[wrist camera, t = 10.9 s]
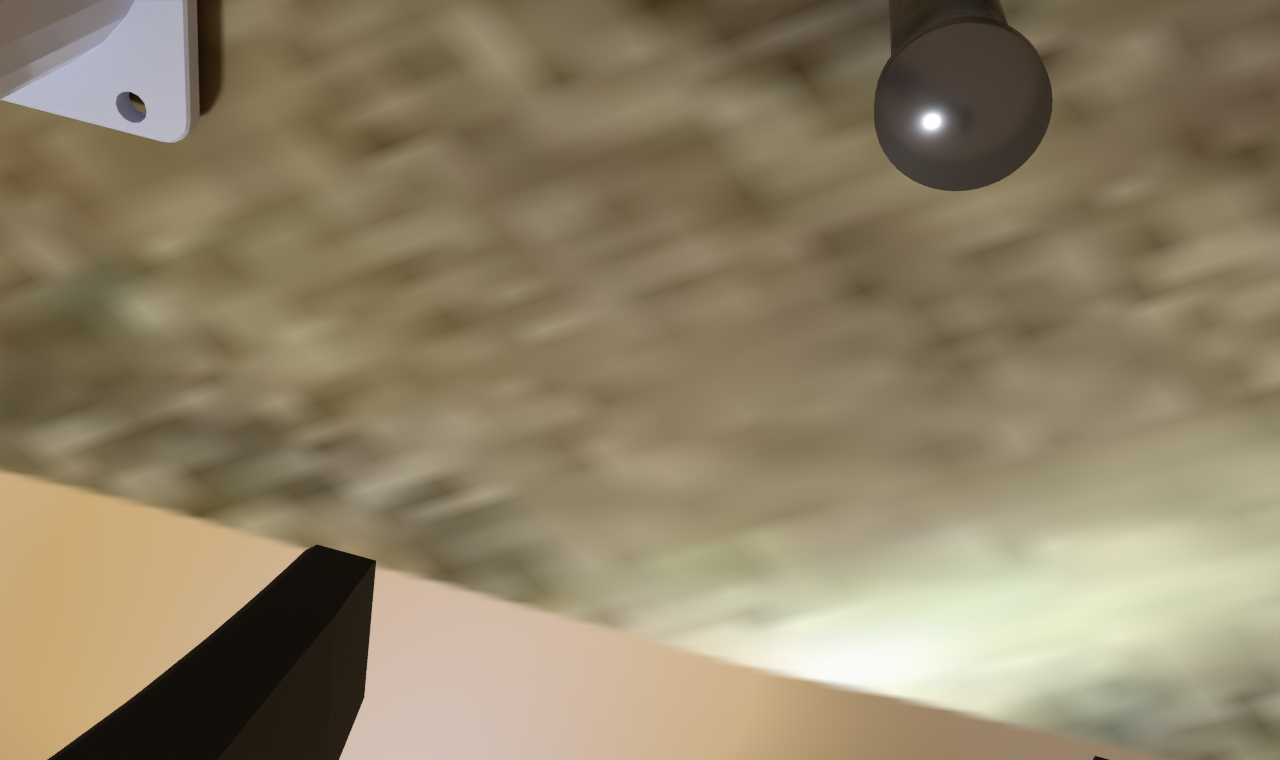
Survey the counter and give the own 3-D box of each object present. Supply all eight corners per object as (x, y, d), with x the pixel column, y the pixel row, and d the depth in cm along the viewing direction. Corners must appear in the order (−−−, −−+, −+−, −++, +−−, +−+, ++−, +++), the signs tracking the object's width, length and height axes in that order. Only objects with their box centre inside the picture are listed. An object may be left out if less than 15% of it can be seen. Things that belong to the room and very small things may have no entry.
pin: (858, 36, 17) (852, 168, 13) (897, -92, 16) (905, 4, 12) (978, 66, 17) (1013, 208, 12) (1025, -60, 16) (1081, 48, 11)
